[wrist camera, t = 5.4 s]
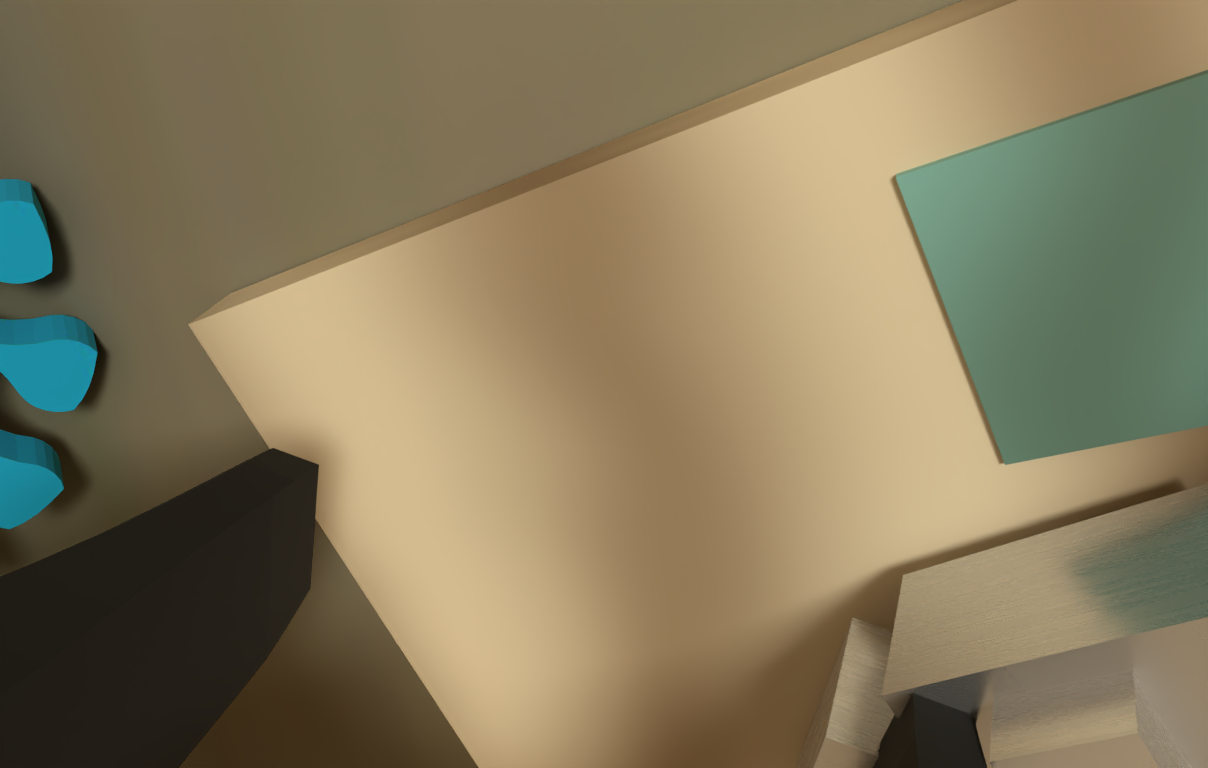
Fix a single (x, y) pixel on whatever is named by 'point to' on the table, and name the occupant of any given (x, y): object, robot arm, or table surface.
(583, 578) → the beige square board
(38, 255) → the gear
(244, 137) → the table surface
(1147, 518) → the faceted metal ring
